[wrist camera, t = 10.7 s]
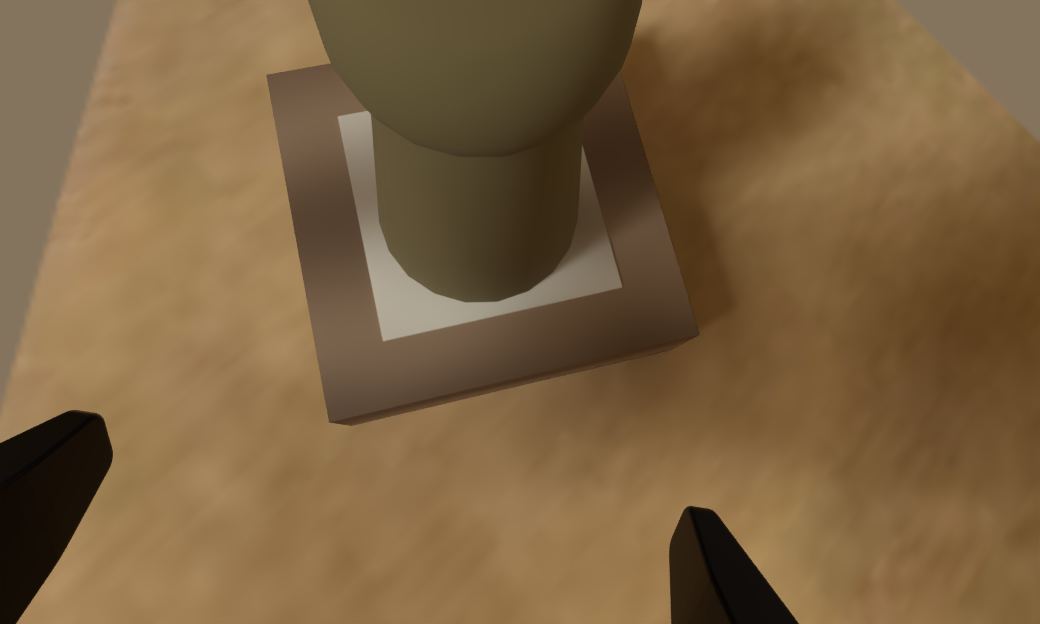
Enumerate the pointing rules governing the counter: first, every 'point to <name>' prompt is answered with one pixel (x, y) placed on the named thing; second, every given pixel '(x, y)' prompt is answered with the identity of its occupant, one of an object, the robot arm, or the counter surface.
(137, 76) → the counter surface
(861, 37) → the counter surface
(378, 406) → the walnut plinth
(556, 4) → the olive green peg figure
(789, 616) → the robot arm
